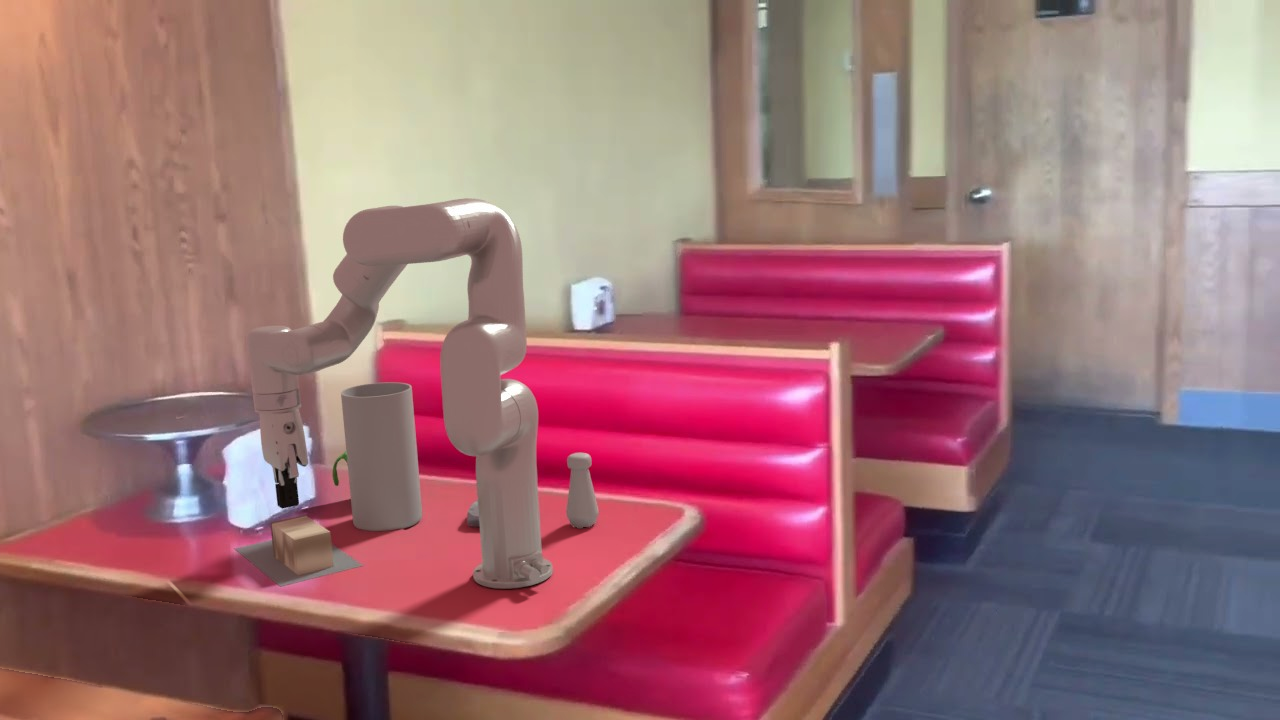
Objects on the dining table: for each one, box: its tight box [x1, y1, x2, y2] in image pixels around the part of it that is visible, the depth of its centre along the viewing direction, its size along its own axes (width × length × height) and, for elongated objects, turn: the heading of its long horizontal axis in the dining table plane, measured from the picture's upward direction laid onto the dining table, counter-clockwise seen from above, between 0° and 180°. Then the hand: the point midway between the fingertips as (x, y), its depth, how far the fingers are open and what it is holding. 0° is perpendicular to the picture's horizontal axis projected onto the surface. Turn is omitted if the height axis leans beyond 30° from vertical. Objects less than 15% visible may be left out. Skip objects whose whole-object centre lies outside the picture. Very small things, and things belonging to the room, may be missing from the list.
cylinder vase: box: [340, 381, 423, 532], centre depth 225 cm, size 12×12×25 cm
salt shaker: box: [565, 452, 600, 529], centre depth 219 cm, size 6×6×13 cm
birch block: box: [269, 514, 334, 575], centre depth 206 cm, size 6×6×12 cm
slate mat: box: [234, 539, 364, 587], centre depth 209 cm, size 24×14×1 cm, turn 35°
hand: (288, 505), depth 209 cm, fingers closed
